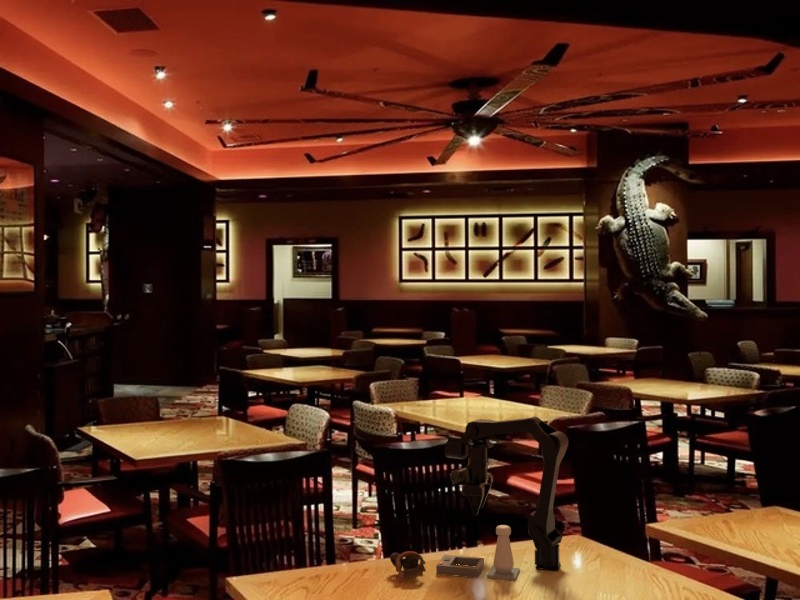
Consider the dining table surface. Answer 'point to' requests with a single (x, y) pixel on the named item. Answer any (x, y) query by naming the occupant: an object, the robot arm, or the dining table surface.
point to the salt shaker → (503, 551)
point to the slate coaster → (509, 576)
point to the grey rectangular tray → (450, 561)
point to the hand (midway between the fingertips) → (478, 511)
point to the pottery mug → (408, 565)
